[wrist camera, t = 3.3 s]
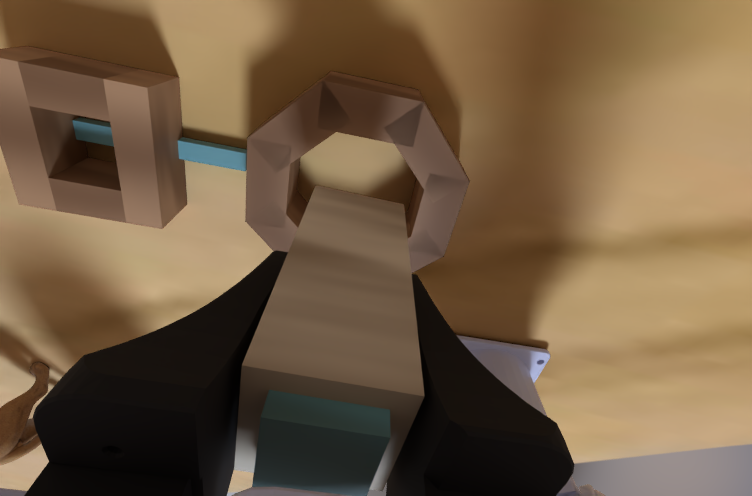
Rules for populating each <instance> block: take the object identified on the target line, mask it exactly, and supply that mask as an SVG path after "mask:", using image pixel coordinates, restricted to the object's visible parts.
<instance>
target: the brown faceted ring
mask: <svg viewBox="0 0 752 496" xmlns="http://www.w3.org/2000/svg"><path fill="white" fill-rule="evenodd" d="M335 132H340V133H345V134H349V135H354V136H359V137H364V138H369V139H374V140H379V141H384V142H389V143H394V144H395V145H396V147H397V148H398V150H399V151H400V153H401V155H402V156H403V158H404V159H405V161H406V162H407V164H408V165H409V167H410V168H411V170H412V171H413V173H414V175H415V176H416V178H417V179H416V183H415V187H414V190H413V194H412V198H411V202H410V205H409V209H408V211H407V212H406V213H405V219H406V228H407V237H408V247H409V256H410V265H411V273H413V272H415V271H417V270H419V269H420V268H422V267H424V266H426V265H428V264H430V263H432V262H434V261H436V260H438V259H440V258H442V257H444V254H445V251H446V248H447V245H448V243H449V240H450V237H451V234H452V231H453V228H454V225H455V222H456V219H457V216H458V214H459V211H460V208H461V205H462V202H463V199H464V196H465V193H466V190H467V187H468V185H469V182H470V181H469V179H468V177H467V175H466V173H465V171H464V169H463V167H462V165H461V163H460V161H459V160H458V158H457V157H456V155H455V153H454V151H453V150H452V148H451V146H450V144H449V143H448V141H447V139H446V138H445V136H444V134H443V132H442V131H441V129H440V127H439V125H438V124H437V122H436V120H435V118H434V117H433V115H432V113H431V111H430V110H429V108H428V106H427V104H426V103H425V101H424V99H423V98H422V96H421V94H420V92H419V90H417V89H412V88H408V87H403V86H398V85H394V84H389V83H384V82H380V81H375V80H371V79H366V78H361V77H357V76H352V75H347V74H343V73H338V72H333V71H330V72H329V73H328V74H327V75H326V76H324V77H323V78H322V79H320V80H319V81H318V82H316V83H315V84H314V85H312V86H311V87H310V88H309V89H307V90H306V91H305V92H303V93H302V94H301V95H299V96H298V97H297V98H295V99H294V100H293V101H291V102H290V103H289V104H288V105H286V106H285V107H284V108H282V109H281V110H280V111H278V112H277V113H276V114H274V115H273V116H272V117H270V118H269V119H268V120H266V121H264V122H263V123H262V124H261V125H260V126H259V127H258V128H257V129H256V130H255V131H254V132H253V133H252V134H251V135H249V136H248V137H247V176H246V221H245V222H247V223H248V224H249V225H250V227H251V228H252V229H253V230H254V231H255V232H256V233H257V234H258V235H259V236H260V237H261V238H262V239H263V240H264V241H265V242H266V243H267V245H268V246H269V247H270V248H271V249H272V250H273V251H276V250H278V251H284V252H288V251H289V249H290V247H291V244H292V242H293V239H294V237H295V234H296V232H297V230H298V227H299V225H300V222H301V220H302V217H303V215H304V213H305V210H306V208H307V205H308V203H307V202H306V201H305V199H304V198H303V197H302V196H301V195H300V193H299V192H298V191H297V186H298V176H299V166H300V157H301V156H302V155H304V154H305V153H307V152H308V151H309V150H311V149H312V148H314V147H315V146H317V145H318V144H319V143H321V142H322V141H324V140H325V139H327V138H328V137H329V136H331V135H332V134H334V133H335Z"/></svg>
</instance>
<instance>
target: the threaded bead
mask: <svg viewBox="0 0 752 496" xmlns="http://www.w3.org/2000/svg"><path fill="white" fill-rule="evenodd" d="M80 116H84V117H89V118H94V119H99V120H104V121H109V122H110V125H111V131H112V137H113V143H114V149H115V156H116V162H117V163H114V162H109V161H103V160H98V159H92V158H88V154H87V149H86V144H85V141H82V140H77V139H76V135H75V130H74V125H73V121H72V120H74V119H77V118H80ZM182 137H183V133H182V118H181V102H180V87H179V77H175V76H170V75H165V74H160V73H156V72H151V71H146V70H141V69H136V68H131V67H127V66H122V65H117V64H112V63H107V62H102V61H97V60H93V59H88V58H83V57H78V56H73V55H68V54H64V53H59V52H54V51H49V50H44V49H39V48H35V47H30V46H24V47H15V48H5V49H0V146H1V149H2V152H3V155H4V158H5V162H6V165H7V168H8V171H9V174H10V177H11V180H12V184H13V187H14V190H15V193H16V196H17V199H18V203H19V204H20V205H26V206H32V207H37V208H43V209H49V210H55V211H61V212H67V213H72V214H78V215H84V216H90V217H96V218H101V219H107V220H113V221H119V222H125V223H130V224H136V225H142V226H148V227H154V228H159V229H163V228H164V227H165V226H166V225H167V224H168V223H169V222H170V221H171V220H172V219H173V218H174V217H175V216H176V215H177V214H178V213H179V212H180V211H181V210H182V209H183V208H184V207H185V206H186V205H187V194H186V179H185V164H184V160H183V159H179V152H178V140H179V139H181V138H182Z"/></svg>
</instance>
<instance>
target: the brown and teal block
mask: <svg viewBox="0 0 752 496" xmlns="http://www.w3.org/2000/svg"><path fill="white" fill-rule="evenodd" d="M423 399H424V386H423V377H422V368H421V358H420V349H419V340H418V330H417V321H416V312H415V302H414V293H413V284H412V274H411V265H410V256H409V247H408V237H407V228H406V219H405V209H404V204H400V203H396V202H391V201H387V200H382V199H378V198H373V197H369V196H364V195H359V194H355V193H350V192H346V191H341V190H337V189H332V188H328V187H323V186H318V185H316V186H315V188H314V191H313V193H312V195H311V198H310V200H309V203H308V205H307V208H306V210H305V213H304V215H303V217H302V220H301V222H300V225H299V227H298V230H297V232H296V234H295V237H294V239H293V242H292V244H291V247H290V249H289V251H288V254H287V256H286V259H285V261H284V264H283V266H282V269H281V271H280V273H279V276H278V278H277V281H276V283H275V286H274V288H273V290H272V293H271V295H270V298H269V300H268V303H267V305H266V307H265V310H264V312H263V315H262V317H261V320H260V322H259V325H258V327H257V329H256V332H255V334H254V337H253V339H252V342H251V344H250V346H249V349H248V351H247V354H246V356H245V359H244V361H243V363H242V369H241V383H240V396H239V410H238V424H237V437H236V451H235V465H234V470H239V471H246V472H253V473H254V476H253V484H252V487H282V488H290V489H299V490H307V491H315V492H324V493H332V494H340V495H348V496H367V494H368V491H369V489H373V490H379V491H382V490H383V489H384V487H385V484H386V482H387V480H388V478H389V475H390V473H391V471H392V469H393V466H394V464H395V462H396V460H397V457H398V455H399V453H400V451H401V448H402V446H403V444H404V442H405V439H406V437H407V435H408V433H409V430H410V428H411V426H412V424H413V421H414V419H415V417H416V415H417V412H418V410H419V408H420V406H421V403H422V401H423Z"/></svg>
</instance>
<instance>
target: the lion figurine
mask: <svg viewBox="0 0 752 496" xmlns="http://www.w3.org/2000/svg"><path fill="white" fill-rule="evenodd" d="M30 373H31V374H32V375H34V376H36V381H35V383H34V385H33V386H32V387H31V388H30V389H29V390H28V391H27V392H25V393H24V394H22V395H20V396H18V397H17V398H15V399H13V400H11V401H9V402H8V403H6V404H5V405H3V406H2V407H1V408H0V465H3V464H6V463H9V462H12V461H14V460H16V459H18V458H20V457H22V456H24V455H26V454H27V453H29V452H30V451H32V450H33V449H35V448H36V447H38V446H39V445H40V444H41V441H40V439H39V437H38V434H37V432H36V429H35V425H34V420H33V418H32V419H28V418H29V415H30V413H31V410H32V408H33V406H34V404H35V403H36V402H37V401H38V400H39V399H40V398H41V397H43V396H44V395H45V394H46V393H47V392H48V381H49V368H48V367H47V366H45V365H44V364H42V363H33V365H32V366H31V367H30ZM32 438H33V439H32ZM28 441H29V442H28Z"/></svg>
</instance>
